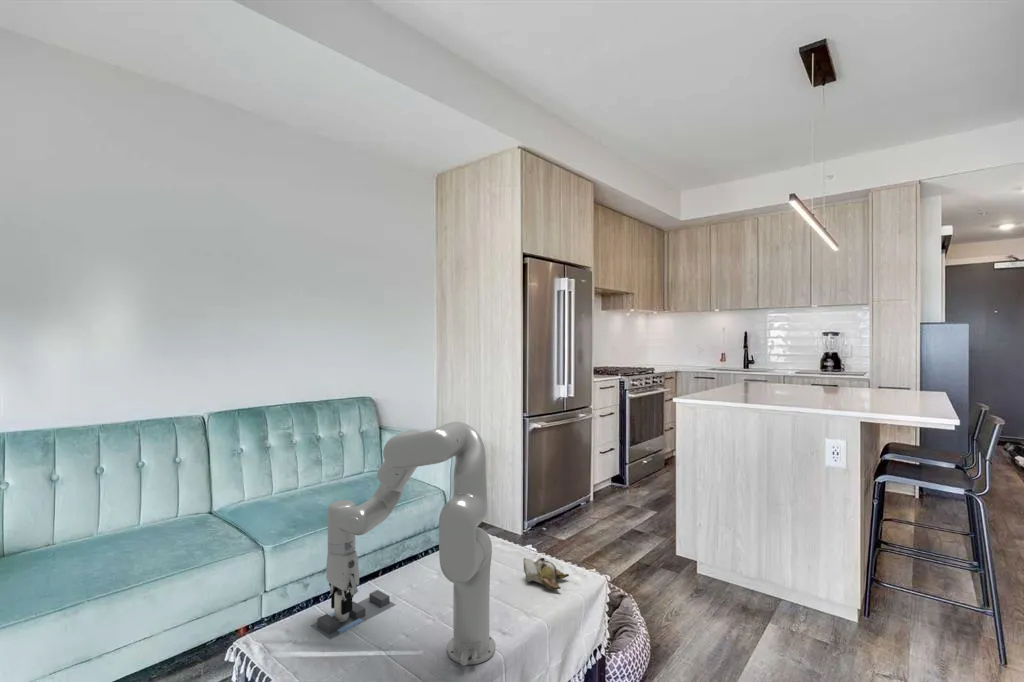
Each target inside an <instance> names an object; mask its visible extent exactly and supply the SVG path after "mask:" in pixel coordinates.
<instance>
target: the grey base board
mask: <svg viewBox="0 0 1024 682" xmlns="http://www.w3.org/2000/svg"><path fill="white" fill-rule="evenodd" d="M368 595H369V597H367V598H364V599H363V600H361V601H359V602H355V601H353V600H352V611H350V612H349V619H348V620H346V621H344V622H339V621H337V620H336V619H334V612H332V613H330V614H329V613H326V614H323V615H321V616H320V617H317V620H316V621H317V622H315V623H313V624H311V625H310V627H311V628H313V629H315V630H316V631H318V632H319V633H321V635H323V636H325V638H327V639H329V640H331V639H334V638H336V637H338V636H339V635H341V634H342V633H345V632H347V631H349V630H351V629H353V628H355V627H356V626H358V625H360V624H362V623H365V622H367V620H369V619H371V618H373V617H376V616H378V615H379V614H381V613H383V612H385V611H387V610H389V609H391V608H393V607H394V606H396V605H397V604H395V603H394V602H392V601H391V598H390V595H388V594H387V593H384V592H382V591H381V590H379V589H376V590H374V591H372V592H370V593H369V594H368Z"/></svg>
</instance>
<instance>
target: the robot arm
mask: <svg viewBox="0 0 1024 682" xmlns="http://www.w3.org/2000/svg"><path fill="white" fill-rule="evenodd" d="M382 456H383V459H384V461H383V462H382V464H381V465H380V466H379V468H378V470H377V473H376V475H377V476H376V477H377V480H378V481H379V483H380V485H379V486H378V487H377V489H376V491H375V492H374V494H373V495H372V496H371V497H370V498H369V499H368V500H366V501H364V502H363V503H361V504H359V505H356V504H355V503H354V501H351V500H349V499H348V500H346V499H344V500H343V499H342V500H336V501H333V502H331V503H330V504H329V505H328V508H327V557H326V572H325V573H326V581H327V583H328V585H329V588H330V589H329V590H330V591H329V592H330V594H331V595H330V596H331V597H330V600H331V601H330V602H331V603H330V604H331V606H330V607H331V609H334V594H335V592H337V590H338V589H341V590H342V597H343V600H341V614H342V615H344V614H346V613H348V612H350V611H352V602H353V599H354V596H355V595H356V594H358V592H359V590H358V588H357V586H359V585H360V572H359V571H360V570H359V569H360V568H359V559H358V554H357V551H356V536H363V535H366V534H368V533H369V532H370V531H371V530H373V529H375V528H376V527H377V526H379V525H380V524H382V523H383V522H385V521H386V520H387V519H388V517H389V516H390V515H391V513H392V512H393V511H394V510H395V508H396V507H397V505H398V503H399V501H400V500H401V498H402V495H403V492H404V489H405V486H406V484H407V483H408V481H409V480H410V479H411V477H412V475H413V474H414V472H415V471H416V469H417V468H418V467H424V466H430V465H436V464H440V463H443V462H446V461H449V460H450V459H452V458H453V457H455V462H454V463H455V464H454V468H453V469H454V471H453V495H452V498H451V499H449V500H448V501H447V502H446V503H445V504H444V505H443V507H442V508H441V511H440V514H439V517H438V555H439V556H438V557H439V566H440V569H441V571H442V574H443V576H444V577H445V578H446V579H447V581H449V582H451V583H452V584H453V588H452V589H453V593H452V594H453V596H452V597H453V599H452V600H453V601H452V602H453V603H452V604H453V622H452V623H453V624H452V625H453V627H452V630H453V632H452V633H453V635H452V636H453V637H452V638H451V639H450V640H449V641H448V643H447V648H446V649H447V654H448V656H449V658H450V659H451V661H454V662H455V663H458V664H460V665H461V666H467V665H470V666H471V665H477V664H481V663H484V662H486V661H487V660H489V659H490V658H492V656H493V655H494V654H495V652H496V642H495V640H494V638H493V637H492V636H490V591H491V589H490V587H491V586H490V584H491V582H490V580H491V579H490V577H491V575H490V574H491V566H492V565H491V564H492V555H493V545H492V540H491V537H490V535H489V533H488V532H487V531H485V530H484V528H481V527H479V525H481V524H482V522H483V521H484V519H485V518H486V515H487V514H488V513H487V512H488V495H487V494H488V493H487V492H488V491H487V469H486V468H487V467H486V466H487V464H486V463H487V462H486V460H487V458H486V449H485V444H484V440H483V439H482V438H481V435H480V434H479V433H478V431H477V430H476V429H475V428H474V427H472V426H471V425H469V424H468V423H466V422H461V421H452V422H448V423H444V424H442V425H440V426H438V427H436V428H433V429H430V430H426V431H420V430H415V429H410V430H406V431H403V432H401V433H399V434H396V435H393V436H391V437H390V438H389V439H388V440H387V441H386V443H385V444H384V446H383V450H382ZM347 590H348V591H349V592H348V593H347V594H346V591H347Z"/></svg>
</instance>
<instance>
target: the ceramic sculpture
mask: <svg viewBox="0 0 1024 682" xmlns="http://www.w3.org/2000/svg"><path fill="white" fill-rule="evenodd" d="M523 572H524V574H525V579H526V582H528V583H531V582H532V581H533V582H536V583H539V584H540V585H543V586H545V588H547V589H549V590H561V586H560V585H559V584H558V582H557V580H562V579H565V578H567V577H570V574H569V573H563V571H561V570H559V569H558V568H557V567H556V565H555V564H554V563H553V562H551V561H548V560H546V559H545V558H544V557H542V558H541V557H540V558H538V559H537V560H536V561H534V560H532V559H531V558H526V557H524V558H523Z"/></svg>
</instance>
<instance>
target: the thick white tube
mask: <svg viewBox="0 0 1024 682" xmlns="http://www.w3.org/2000/svg"><path fill="white" fill-rule="evenodd" d="M348 592H349V590H347V591H346V594H347V593H348ZM341 600H343V597H342V590H341V589H338V590H337V592H335V594H334V608H333V609H334V612H333V613H334V619H336V620H337V621H339V622H344V621H346V620H348V619H349V612H348V613H346V614H344V615H342V614H341Z"/></svg>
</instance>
